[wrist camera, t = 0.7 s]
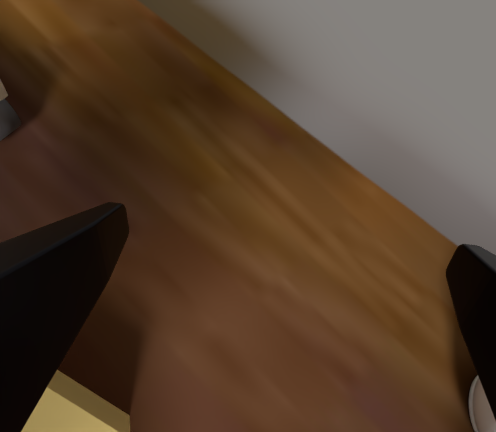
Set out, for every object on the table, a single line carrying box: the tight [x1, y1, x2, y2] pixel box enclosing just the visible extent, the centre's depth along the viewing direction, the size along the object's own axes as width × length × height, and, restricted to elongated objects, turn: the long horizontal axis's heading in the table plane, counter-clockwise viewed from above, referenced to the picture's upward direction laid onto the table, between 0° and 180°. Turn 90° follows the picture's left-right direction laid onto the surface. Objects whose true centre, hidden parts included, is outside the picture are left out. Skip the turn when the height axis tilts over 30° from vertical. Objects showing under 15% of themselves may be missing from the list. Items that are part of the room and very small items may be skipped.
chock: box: [21, 370, 130, 432], centre depth 14 cm, size 4×8×4 cm, turn 58°
